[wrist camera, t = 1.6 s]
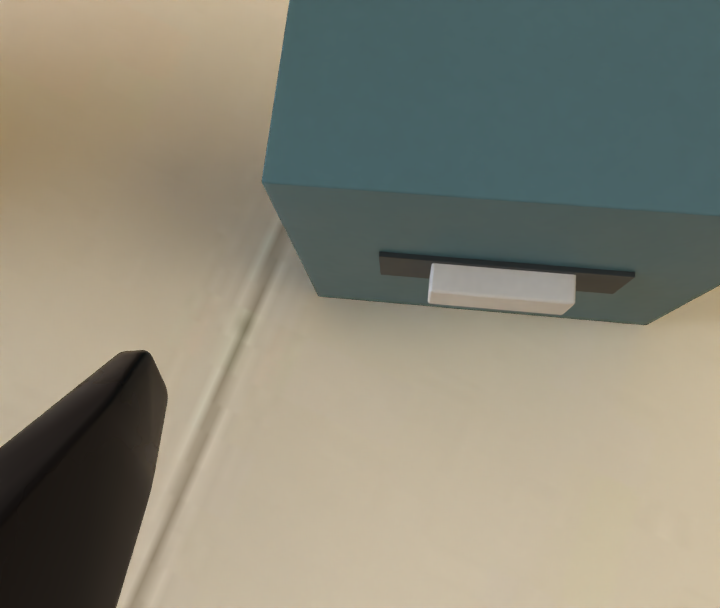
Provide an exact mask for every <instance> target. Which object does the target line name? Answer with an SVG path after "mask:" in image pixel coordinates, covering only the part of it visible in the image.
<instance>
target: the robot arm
mask: <svg viewBox="0 0 720 608" xmlns="http://www.w3.org/2000/svg"><path fill="white" fill-rule="evenodd" d="M167 399H168V396H167V389H166V386H165V383H164V381H163V379H162V377H161V375H160V372H159V370H158V368H157V366H156V364H155V361H154V359H153V357H152V356H151V354H150V353H149V352H148V351H145V350H136V351H124V352H120V353H119V354H117V355H116V356H115V357H113V358H112V359H111V360H110V361H108V362H107V363H106V364H105V365H103V366H102V367H101V368H100V369H98V370H97V371H96V372H95V373H93V374H92V375H91V376H90V377H88V378H87V379H86V380H85V381H83V382H82V383H81V384H80V385H78V386H77V387H76V388H75V389H73V390H72V391H71V392H70V393H68V394H67V395H66V396H65V397H63V398H62V399H61V400H60V401H58V402H57V403H56V404H55V405H53V406H52V407H51V408H50V409H48V410H47V411H46V412H45V413H43V414H42V415H41V416H40V417H38V418H37V419H36V420H35V421H33V422H32V423H31V424H30V425H28V426H27V427H26V428H24V429H23V430H22V431H21V432H19V433H18V434H17V435H16V436H14V437H13V438H12V439H11V440H9V441H8V442H7V443H6V444H4V445H3V446H2V447H1V448H0V608H116V606H117V603H118V599H119V596H120V593H121V589H122V586H123V583H124V579H125V576H126V573H127V569H128V566H129V563H130V559H131V556H132V553H133V549H134V546H135V543H136V539H137V536H138V533H139V530H140V526H141V523H142V520H143V516H144V513H145V510H146V506H147V503H148V499H149V495H150V492H151V488H152V483H153V478H154V473H155V468H156V462H157V457H158V451H159V445H160V440H161V434H162V429H163V423H164V418H165V412H166V407H167Z"/></svg>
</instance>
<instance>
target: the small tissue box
mask: <svg viewBox="0 0 720 608" xmlns="http://www.w3.org/2000/svg"><path fill="white" fill-rule="evenodd" d="M262 184H263V186H264V188H265V190H266V192H267V194H268V196H269V198H270V200H271V202H272V204H273V206H274V208H275V210H276V212H277V214H278V216H279V218H280V220H281V222H282V224H283V226H284V228H285V230H286V232H287V234H288V236H289V238H290V240H291V242H292V244H293V246H294V248H295V250H296V252H297V254H298V256H299V258H300V260H301V262H302V264H303V266H304V268H305V270H306V272H307V274H308V276H309V278H310V280H311V282H312V284H313V286H314V288H315V290H316V292H317V294H318V296H320V297H332V298H343V299H355V300H366V301H377V302H389V303H400V304H412V305H423V306H435V307H446V308H457V309H469V310H480V311H492V312H503V313H514V314H526V315H537V316H549V317H560V318H571V319H583V320H594V321H606V322H617V323H628V324H640V325H647V324H649V323H651V322H653V321H655V320H656V319H658V318H660V317H662V316H664V315H666V314H668V313H669V312H671V311H673V310H675V309H677V308H679V307H680V306H682V305H684V304H686V303H688V302H690V301H692V300H693V299H695V298H697V297H699V296H701V295H703V294H704V293H706V292H708V291H710V290H712V289H714V288H715V287H717V286H719V285H720V0H290V1H289V7H288V14H287V20H286V27H285V33H284V40H283V46H282V53H281V59H280V66H279V72H278V79H277V85H276V92H275V98H274V105H273V111H272V118H271V124H270V131H269V137H268V143H267V150H266V156H265V163H264V169H263V176H262Z"/></svg>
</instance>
